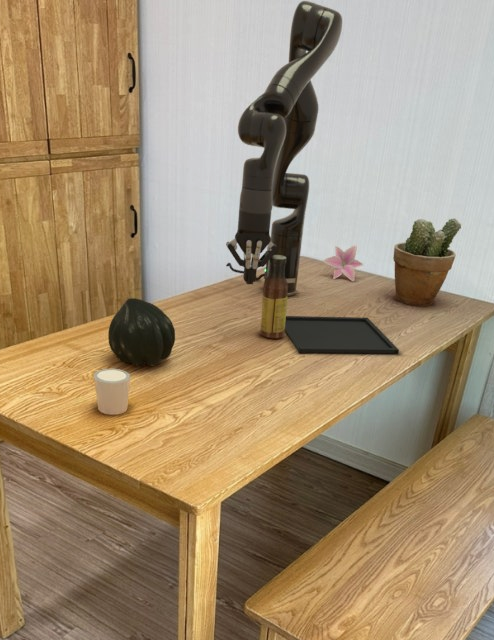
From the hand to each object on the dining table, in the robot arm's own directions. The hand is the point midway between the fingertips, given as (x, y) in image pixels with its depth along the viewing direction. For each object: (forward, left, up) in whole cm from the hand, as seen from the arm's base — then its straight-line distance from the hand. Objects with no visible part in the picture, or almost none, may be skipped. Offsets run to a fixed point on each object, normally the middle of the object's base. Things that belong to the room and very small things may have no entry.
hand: (249, 283), depth 171 cm
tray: (+10, +22, -13) cm, 28 cm away
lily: (-32, +63, -13) cm, 72 cm away
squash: (+4, -32, -13) cm, 35 cm away
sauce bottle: (+3, +6, -13) cm, 15 cm away
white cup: (+23, -49, -13) cm, 56 cm away
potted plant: (-4, +68, -13) cm, 70 cm away
